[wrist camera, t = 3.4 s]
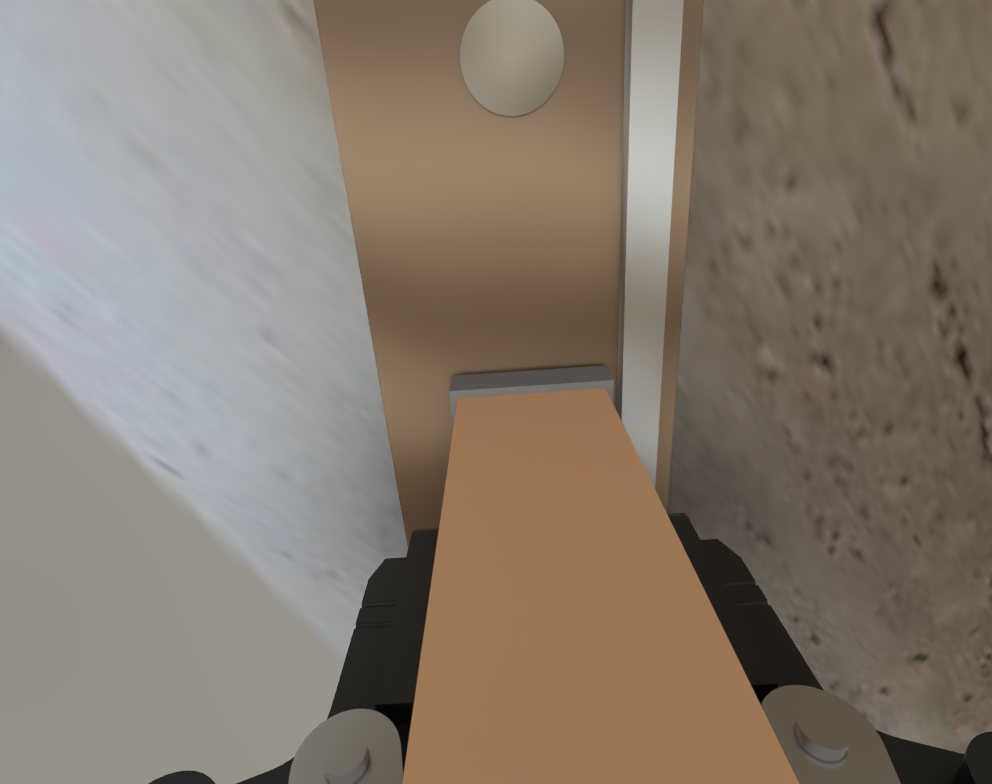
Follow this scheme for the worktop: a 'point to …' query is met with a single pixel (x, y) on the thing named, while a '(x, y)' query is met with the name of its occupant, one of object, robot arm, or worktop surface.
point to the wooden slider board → (516, 203)
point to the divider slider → (570, 609)
